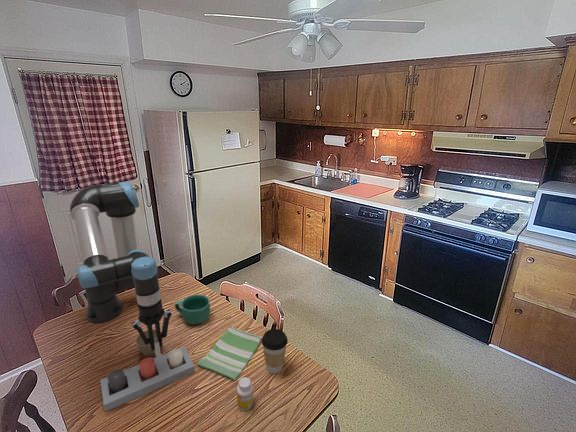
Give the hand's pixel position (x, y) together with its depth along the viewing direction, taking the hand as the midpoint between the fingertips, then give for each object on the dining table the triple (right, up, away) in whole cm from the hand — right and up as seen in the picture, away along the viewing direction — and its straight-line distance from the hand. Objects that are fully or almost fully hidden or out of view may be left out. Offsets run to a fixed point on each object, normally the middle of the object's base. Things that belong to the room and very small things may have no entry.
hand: (157, 354), depth 115 cm
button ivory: (+5, -7, +6) cm, 10 cm away
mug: (+3, +2, +34) cm, 34 cm away
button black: (-12, -10, -5) cm, 16 cm away
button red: (-3, -8, 0) cm, 8 cm away
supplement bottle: (+33, -13, -8) cm, 37 cm away
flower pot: (-8, -5, +14) cm, 17 cm away
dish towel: (+25, -6, +14) cm, 29 cm away
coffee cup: (+43, -8, +7) cm, 44 cm away
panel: (-3, -9, +1) cm, 10 cm away
